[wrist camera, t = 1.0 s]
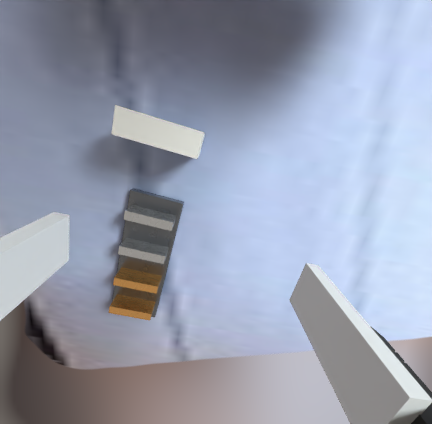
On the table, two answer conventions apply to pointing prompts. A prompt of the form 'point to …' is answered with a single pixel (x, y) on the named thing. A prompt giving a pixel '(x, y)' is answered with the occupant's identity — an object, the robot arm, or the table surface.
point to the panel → (157, 132)
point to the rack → (144, 253)
